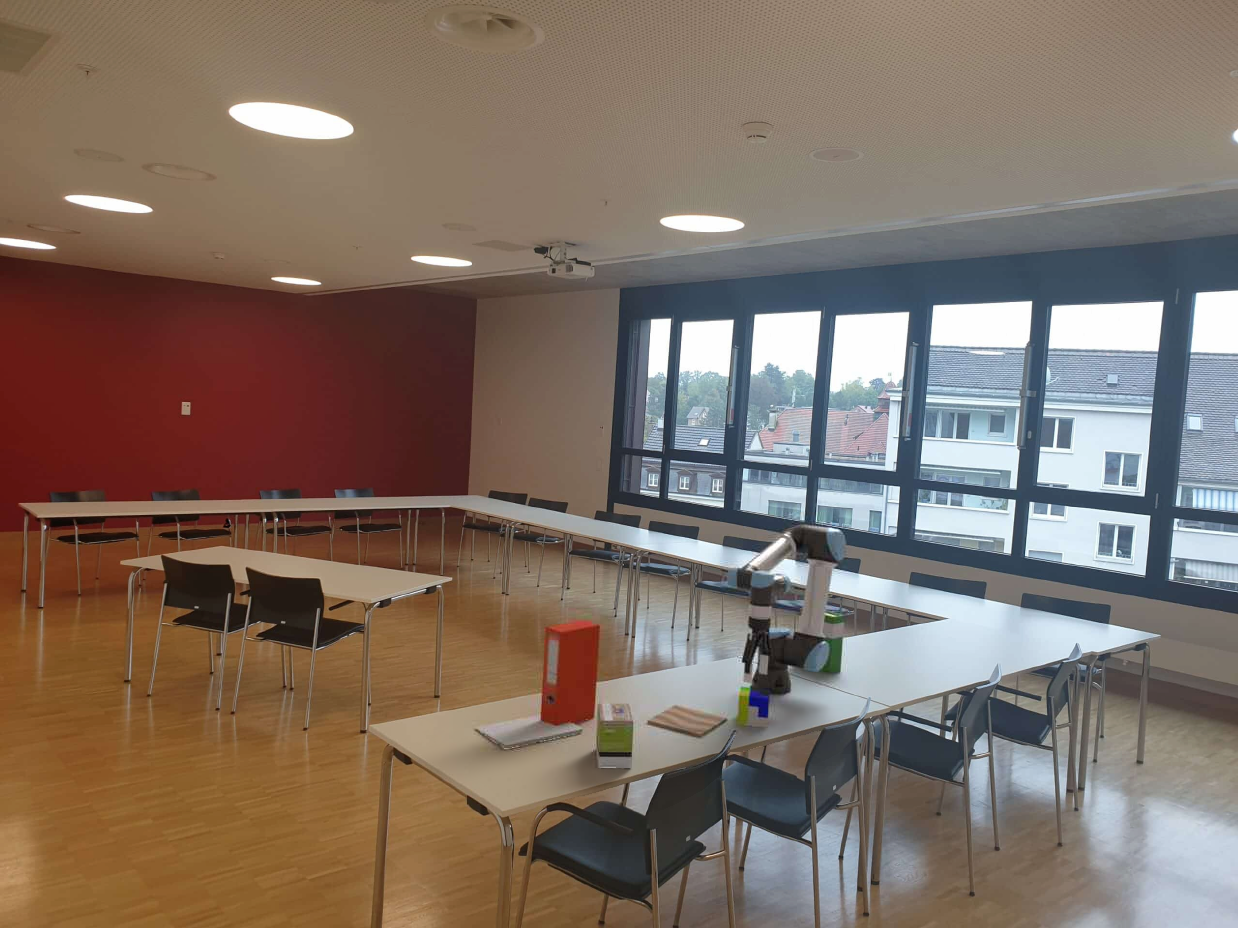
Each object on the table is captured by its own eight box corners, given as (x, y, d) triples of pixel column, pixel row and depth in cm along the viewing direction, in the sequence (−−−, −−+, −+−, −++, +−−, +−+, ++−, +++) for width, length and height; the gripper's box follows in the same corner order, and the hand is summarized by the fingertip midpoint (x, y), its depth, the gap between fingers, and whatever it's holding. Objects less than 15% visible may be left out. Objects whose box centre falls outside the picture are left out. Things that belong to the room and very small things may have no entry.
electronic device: (505, 751, 265) (505, 744, 265) (474, 730, 281) (474, 723, 281) (583, 734, 282) (583, 728, 282) (549, 715, 298) (550, 709, 298)
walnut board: (675, 707, 311) (675, 704, 311) (727, 720, 301) (727, 717, 301) (647, 722, 294) (647, 720, 294) (701, 737, 284) (701, 734, 284)
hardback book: (795, 663, 376) (799, 608, 374) (806, 661, 381) (810, 606, 379) (829, 674, 363) (833, 617, 361) (840, 671, 367) (844, 615, 366)
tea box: (594, 748, 270) (597, 701, 269) (627, 749, 270) (630, 702, 270) (597, 769, 255) (600, 719, 254) (632, 769, 255) (634, 719, 255)
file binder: (594, 718, 296) (599, 624, 294) (556, 729, 284) (561, 632, 282) (578, 711, 302) (583, 619, 300) (540, 722, 290) (545, 626, 288)
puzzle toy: (767, 727, 296) (769, 698, 296) (737, 723, 298) (739, 695, 298) (768, 717, 306) (770, 689, 306) (739, 714, 308) (741, 686, 308)
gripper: (763, 609, 313) (759, 667, 314) (734, 620, 291) (730, 683, 292) (783, 612, 309) (779, 672, 310) (755, 624, 287) (751, 688, 289)
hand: (755, 677), depth 301 cm, fingers open, 13 cm apart
